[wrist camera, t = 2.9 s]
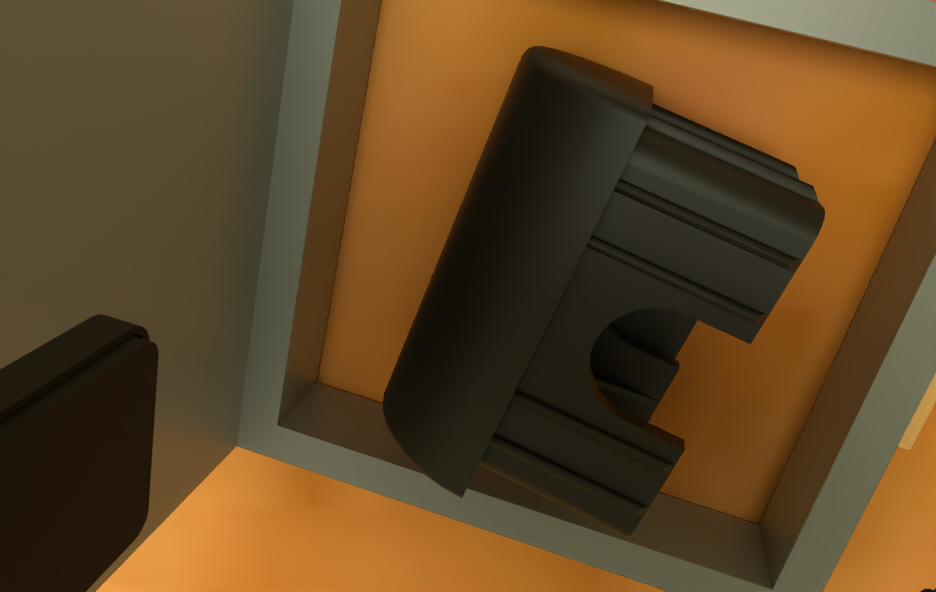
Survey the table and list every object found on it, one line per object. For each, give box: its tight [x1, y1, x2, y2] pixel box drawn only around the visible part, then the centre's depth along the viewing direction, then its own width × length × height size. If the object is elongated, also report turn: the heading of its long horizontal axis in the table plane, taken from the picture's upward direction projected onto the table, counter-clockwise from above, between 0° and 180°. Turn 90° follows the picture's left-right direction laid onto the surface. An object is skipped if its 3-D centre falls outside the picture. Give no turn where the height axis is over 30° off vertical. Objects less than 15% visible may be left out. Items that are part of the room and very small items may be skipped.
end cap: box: [383, 46, 825, 536], centre depth 20 cm, size 10×7×7 cm
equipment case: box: [0, 0, 936, 592], centre depth 16 cm, size 19×16×14 cm
